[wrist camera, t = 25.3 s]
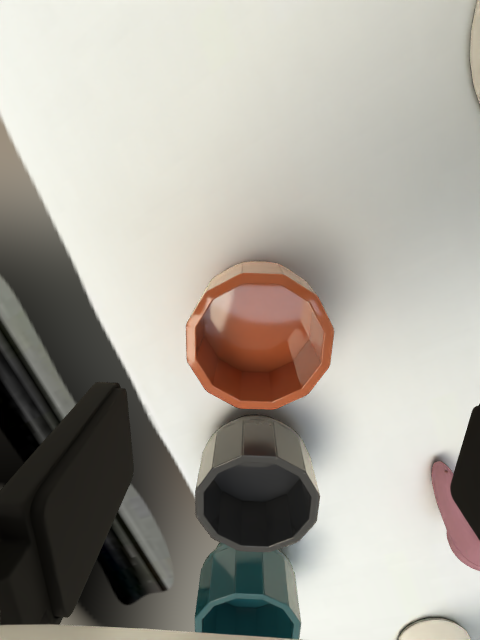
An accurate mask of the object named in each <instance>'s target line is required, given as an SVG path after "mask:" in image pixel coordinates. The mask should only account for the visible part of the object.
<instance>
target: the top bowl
mask: <svg viewBox="0 0 480 640" xmlns="http://www.w3.org/2000/svg"><path fill="white" fill-rule="evenodd" d="M300 628H301V619H300V611H299V603H298V595H297V587H296V579H295V573H294V571H293V568H292V565H291V563H290V561H289V560H288V558H287V557H286V556H285V555H284V554H283V553H282V552H281V551H279V549H278V550H275V551H272V552H269V553H268V552H245V551H237V550H235V549H233V548H231V547H229V546H227V545H225V544H223V543H221V542H220V543H219V544H218V546H217V548H216V550H214V551H213V552H212V553H211V554H210V555H209V556H208V557H207V559H206V560H205V562H204V564H203V568H202V569H201V575H200V582H199V590H198V597H197V605H196V613H195V632H198V633H213V634H228V635H243V636H257V637H272V638H287V639H299V636H300Z"/></svg>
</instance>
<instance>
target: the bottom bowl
mask: <svg viewBox="0 0 480 640" xmlns="http://www.w3.org/2000/svg"><path fill="white" fill-rule="evenodd" d="M319 500H320V494H319V490H318V486H317V482H316V478H315V474H314V470H313V466H312V462H311V458H310V455H309V453H308V451H307V449H306V446H305V444H304V442H303V440H302V439H301V437H300V436H299V435H298V434H297V433H296V432H295V431H294V430H293V429H292V428H291V427H289V426H288V425H286V424H284V423H282V422H280V421H278V420H275V419H273V418H271V417H268V416H264V415H246V416H242V417H240V418H237V419H235V420H233V421H231V422H229V423H227V424H225V425H224V426H222V427H221V428H219V429H218V430H217V431H216V432H215V433H214V434H213V435H212V436H211V438H210V439H209V441H208V443H207V445H206V447H205V449H204V451H203V453H202V458H201V464H200V469H199V474H198V480H197V485H196V490H195V504H196V517H197V519H198V520H199V521H200V523H201V524H202V526H203V527H204V528H205V530H206V531H207V532H208V534H209V535H210V536H211V538H213V539H214V540H217V541H219V542H221V543H223V544H225V545H227V546H229V547H231V548H233V549H235V550H237V551H245V552H268V553H269V552H272V551H275V550H278V549H281V548H283V547H286V546H289V545H291V544H294V543H297V542H298V541H299V540H300V539H301V538H302V537H303V536H304V535H305V534H306V533H307V532H308V531H309V530H310V528H311V527H312V526H313V525H314V524H315V523H316V521H317V516H318V508H319Z"/></svg>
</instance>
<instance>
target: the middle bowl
mask: <svg viewBox="0 0 480 640" xmlns="http://www.w3.org/2000/svg"><path fill="white" fill-rule="evenodd" d="M333 337H334V328H333V326H332V324H331V322H330V320H329V318H328V316H327V313H326V311H325V309H324V307H323V305H322V303H321V301H320V299H319V297H318V296H317V294H316V293H315V292H314V290H313V289H312V288H311V287H310V285H309V284H308V283H307V282H306V280H304V279H303V278H301V277H299V276H298V275H297V274H295V273H294V272H293V271H291V270H289V269H287V268H285V267H284V266H282V265H280V264H277V263H271V262H263V261H251V262H241V263H240V264H238V265H235V266H233V267H230V268H228V269H227V270H225V271H223V272H222V273H220V274H219V275H217V276H215V277H214V278H213V279H212V280H211V281H210V283H209V285H208V286H207V288H206V290H205V291H204V293H203V295H202V296H201V298H200V300H199V301H198V303H197V305H196V307H195V308H194V310H193V312H192V314H191V316H190V318H189V320H188V322H187V325H186V354H187V362H188V364H189V365H190V367H191V368H192V370H193V371H194V373H195V375H196V376H197V378H198V379H199V381H200V382H201V384H202V386H203V387H204V389H205V390H207V392H209V393H210V394H212V395H214V396H216V397H218V398H220V399H221V400H223V401H225V402H227V403H229V404H231V405H232V406H234V407H236V408H241V409H267V410H274V409H277V408H279V407H282V406H284V405H286V404H288V403H290V402H293V401H295V400H297V399H299V398H302V397H304V396H306V395H307V394H309V392H310V391H311V390H312V389H313V387H314V386H315V385H316V383H317V382H318V381H319V380H320V378H321V377H322V376H323V374H324V373H325V372H326V371H327V369H328V368H329V366H330V362H331V354H332V345H333Z"/></svg>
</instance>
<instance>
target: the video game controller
mask: <svg viewBox="0 0 480 640" xmlns="http://www.w3.org/2000/svg"><path fill="white" fill-rule="evenodd" d="M431 476H432V484H433V489H434V494H435V498H436V501H437V504H438V507H439V510H440V513H441V516H442V518H443V521H444V524H445V526H446V529H447V539H448V542H449V545H450V547H451V549H452V551H453V553H454V554H455V555H456V556H457V558H458V559H459V560H460V561H462V562H463V563H464V564H466V565H467V566H469V567H471V568H473V569H475V570H478V571H480V540H479V539H478V537H477V536H476V534H475V533H474V531H473V530H472V528H471V527H470V525H469V524H468V522H467V520H466V519H465V517H464V516H463V514H462V513H461V511H460V510H459V508H458V507H457V505H456V503H455V502H454V500H453V498H452V496H451V492H450V485H451V481H452V477H453V473H452V471H451V470H450V468H449V467H448V466H447V465H446V464H444V463H443V462H441V461H437V462H435V463H434V464H433V466H432V474H431Z"/></svg>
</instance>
